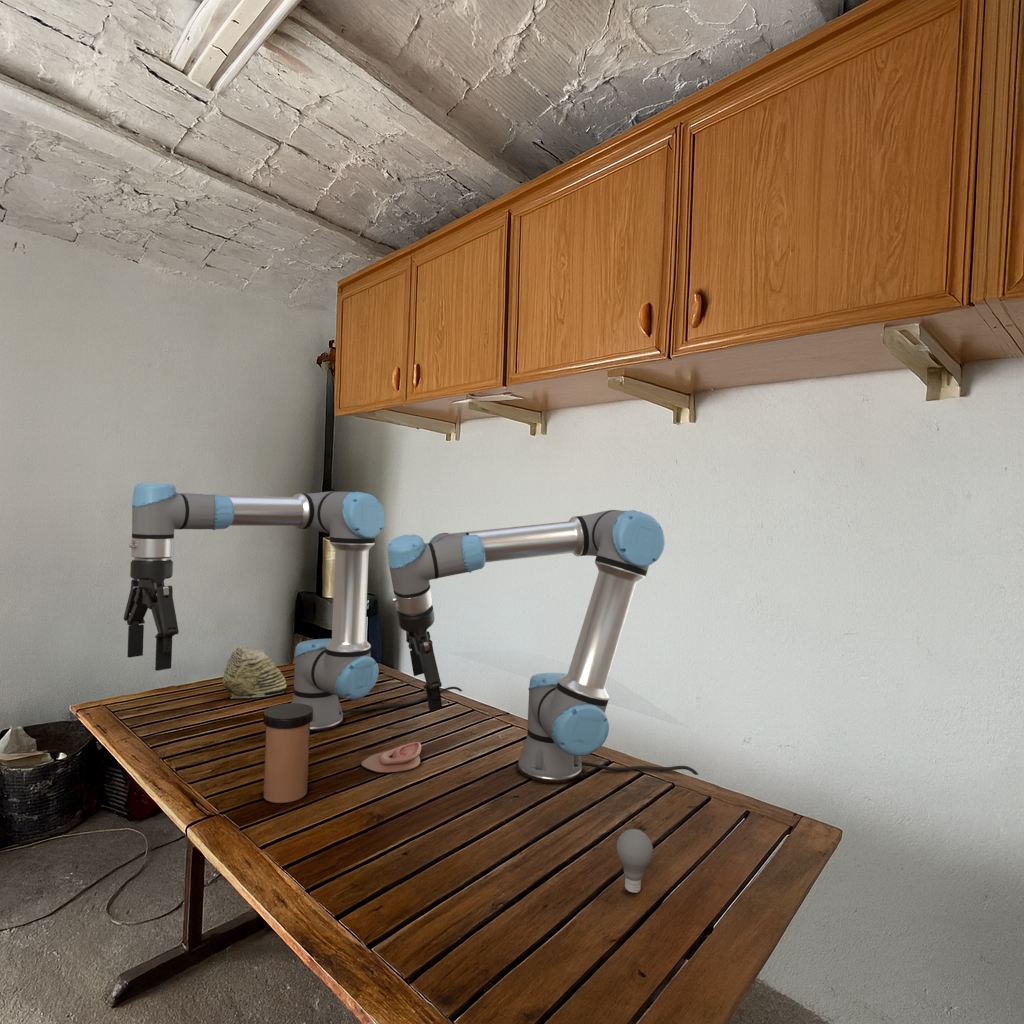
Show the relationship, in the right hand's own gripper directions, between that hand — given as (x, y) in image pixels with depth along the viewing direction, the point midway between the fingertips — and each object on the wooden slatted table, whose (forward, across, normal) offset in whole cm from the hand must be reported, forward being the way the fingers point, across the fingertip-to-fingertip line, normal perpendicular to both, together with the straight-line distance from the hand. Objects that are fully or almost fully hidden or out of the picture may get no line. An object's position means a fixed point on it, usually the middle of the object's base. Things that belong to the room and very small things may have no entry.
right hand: (427, 690), depth 140 cm
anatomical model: (+23, -7, -10) cm, 26 cm away
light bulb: (+12, +52, +20) cm, 57 cm away
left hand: (-16, -14, -53) cm, 57 cm away
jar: (+15, 0, -33) cm, 36 cm away
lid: (-1, -5, -29) cm, 29 cm away
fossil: (+34, -68, -42) cm, 87 cm away
